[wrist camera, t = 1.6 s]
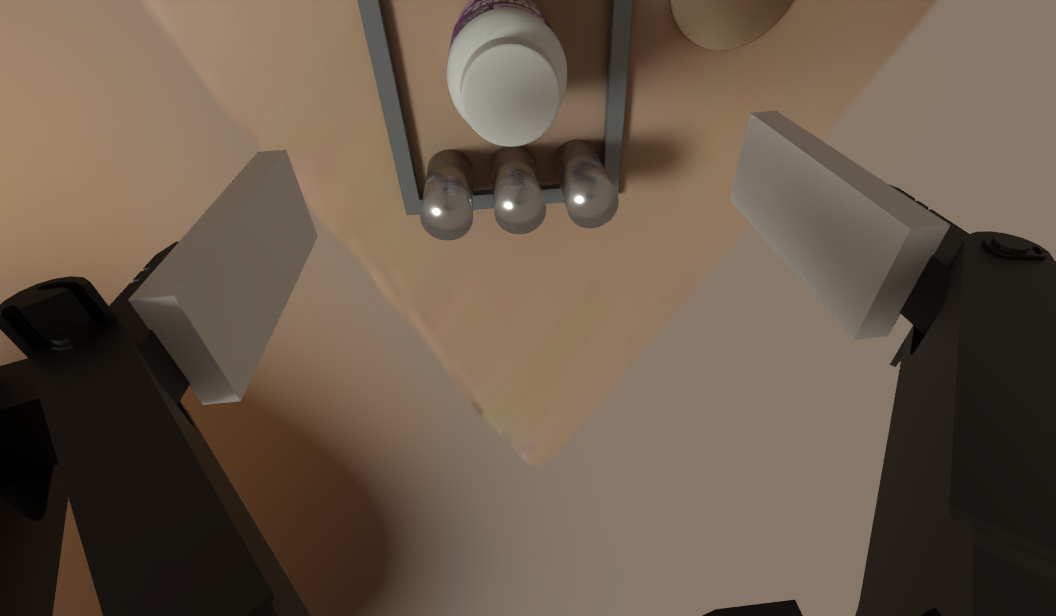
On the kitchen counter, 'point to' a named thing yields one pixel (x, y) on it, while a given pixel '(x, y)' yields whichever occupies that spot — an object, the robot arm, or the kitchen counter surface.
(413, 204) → the parts tray rim
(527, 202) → the spacers
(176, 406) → the robot arm
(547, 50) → the pill bottle
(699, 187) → the kitchen counter surface
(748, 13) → the cork coaster
